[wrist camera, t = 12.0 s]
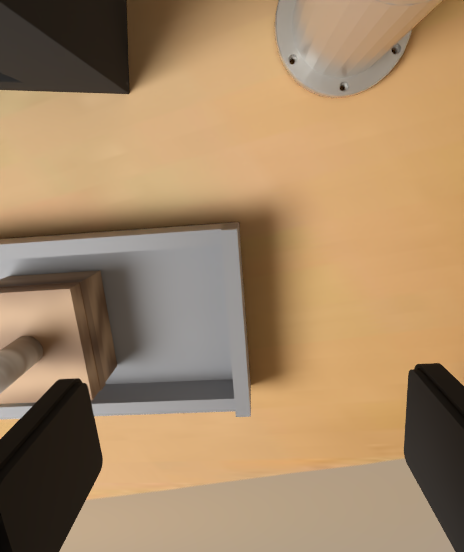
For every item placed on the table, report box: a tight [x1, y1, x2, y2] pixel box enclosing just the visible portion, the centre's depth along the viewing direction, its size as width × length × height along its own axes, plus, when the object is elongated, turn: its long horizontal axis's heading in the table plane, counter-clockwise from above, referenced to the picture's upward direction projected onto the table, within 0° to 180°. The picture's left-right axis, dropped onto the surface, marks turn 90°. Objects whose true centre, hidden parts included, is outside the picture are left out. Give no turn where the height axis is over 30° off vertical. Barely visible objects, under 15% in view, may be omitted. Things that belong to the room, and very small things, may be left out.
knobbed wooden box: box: [0, 271, 117, 404], centre depth 36 cm, size 12×11×13 cm
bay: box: [0, 222, 251, 419], centre depth 40 cm, size 20×30×6 cm
